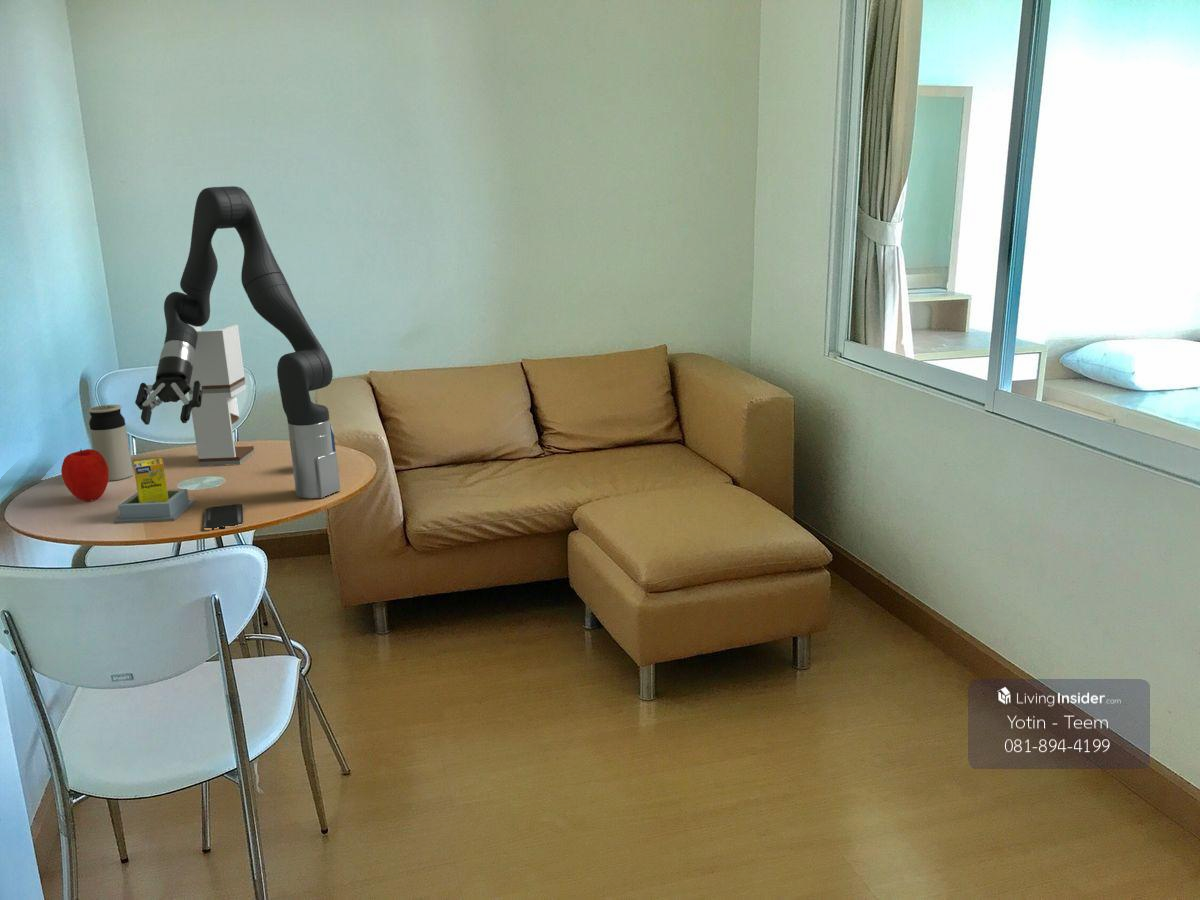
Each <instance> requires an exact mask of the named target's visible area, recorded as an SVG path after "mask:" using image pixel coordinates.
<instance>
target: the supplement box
mask: <svg viewBox="0 0 1200 900" xmlns="http://www.w3.org/2000/svg"><path fill="white" fill-rule="evenodd" d="M164 466H165V465H164V462H163V459H162V457H160V458H152V459H151V458H150V459H145V460H136V461H133V462H132V467H133V473H134V478H135V483H136V490H137V491H136V492H138V498H139V503H155V502H166V501H167V500H168V492H167V490H168V486H167V479H166V473H165V472H166V471H165V467H164Z"/></svg>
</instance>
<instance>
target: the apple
mask: <svg viewBox="0 0 1200 900" xmlns="http://www.w3.org/2000/svg"><path fill="white" fill-rule="evenodd" d="M60 471H61V473H60V474H61V478H62V481H63V483H64V485H65V487H66V488H67V490H68V491H69V493H71V494H72V495H73V496H74V497H75V498H77V499H78V500H81V501H84V502H92V501H91V500H93V501H96V500H98V499H100V498H101V497H102V496H103V495H104V493H105V492H106V489H107V487H108V483H109V481H108V480H109V469H108V465H107V463H106V461H105V459H104V457H103V456H102V455H101V454H100V453H99V452H98V451H95V450H94V449H93V448H92V449H90V448H86V449H83V450H82V448H80V449H79V451H74V452H71V453H69V454H67V455H66V456H65V457H64V458H63V461H62V464H61V470H60Z"/></svg>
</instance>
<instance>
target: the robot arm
mask: <svg viewBox="0 0 1200 900" xmlns="http://www.w3.org/2000/svg"><path fill="white" fill-rule="evenodd" d="M220 229H222V230H223V229H235V230H236V232H237V234H238V235H239V238H240V240H241V242H242V246H243V259H242V266H241V274H240V275H241V276H240V277H241V279H240V280H241V285H242V287H243V289H244V291H245V293H246V295H247V297H248V299H249V301H250V305H252V308H253V309H254V310H255V312H256V313H257V314H259V316H260V317H261V318H262V319H264V320H265V321H266V322H267V323H268V324H270V325H271V326H272V327H274V328H275V329H276V330H278V331H279V332H280V333H281V334H282V335H284V337H285V338H286V339H287V340H288V342H289V343H290V345H291V346H292V348H293V350H294V351H293V352H289V353H285V354H283V355H281V356H280V357H279V360H278V362H277V367H276V369H277V370H276V371H277V372H276V375H277V383H278V387H279V388H278V389H279V393H280V399H281V403H282V409H283V412H284V414H285V416H286V420H287V428H288V429H287V430H288V435H289V437H288V438H289V446H290V452H291V453H290V454H291V463H292V471H293V478H294V487H295V489H294V490H295V495H296V497H298V498H300V499H324V498H326V497H325V496H327V495H329V494H331V493H333V492H336V491H338V490H340V491H341V484H340V475H339V466H338V465H339V463H338V456H337V452H333V448H332V439H331V429H330V424H331V421H330V412H329V408H328V407H327V406H325V405H324V404H323V405H322V404H318V403H314V402H313V401H312V399H311V395H310V392H312V391H316V390H320V389H324V388H326V387H328V386H329V385H330V384H331V383H332V380H333V377H334V375H333V368H332V364H331V361H330V359H329V357H328V355H327V352H326V351H325V350H324V348H323V346H322V345H321V343H320V341H319V339H318V338H317V336H316V335H315V333H314V331H312V329H311V327H310V325H309V324H308V322H307V319H306V318H305V316H304V315H303V312H302V311H301V309H300V307H299V305H298V302H297V300H296V299H295V296H294V294H293V292H292V290H291V287H290V286H289V283H288V282H287V279H286V276H285V275H284V273H283V271H282V269H281V267H280V266H279V264H278V262H277V260H276V258H275V255H274V253H273V252H272V249H271V247H270V244H269V242H268V240H267V238H266V235H265V233H264V229H263V228H262V224H261V222H260V220H259V216H258V214H257V211H256V209H255V206H254V204H253V201H252V199H251V197H250V196H249V194H248V192H246V190H244V188H242V187H240V186H235V185H233V186H232V185H231V186H211V187H206V188H203V189H202V190H201V191H200V192H199V193H198V196H197V197H196V201H195V206H194V213H193V221H192V230H191V239H190V247H189V253H188V257H187V261H186V264H185V266H184V269H183V272H182V274H181V277H180V282H179V286H180V289H181V290H182V292H183V293H182V292H179V291H172V292H170V293H169V294H168V295H167V296H166V298H165V299H164V304H163V312H164V313H163V314H164V318H165V324H166V325H165V326H166V332H165V338H164V343H163V346H162V349H161V352H160V355H159V360H158V364H157V370H156V375H155V382H154V383H153V384H146V383H145V382H142V383H140V384H139V388H138V391H137V395H136V397H135V400H134V401H135V402H134V404H135V406H137V407H138V409H139V410H140V411H141V415H140V419H141V421H142V422H143V424H144V425H146V426H147V425H150V424H151V423H150V422H151V419H152V418H151V417H152V415H153V414H152V413H153V410H154V409H155V408H156V407H159V406H160V405H161V404H162V403H170V402H173V403H178V401H181V402H182V403H183V405H182V406H181V412H180V421H181V423H182V424H186V423H187V422H189V420H190V419H191V415H192V412H191V410H192V409H193V408H194V407H197V408H198V407H200V406H201V401H202V392H203V387H202V385H201V384H200V382H199V381H195V382H194V383H191V384H190V381H191V376H192V370H193V366H194V359H195V348H196V343H197V338H198V334H197V331H196V330H195V329H194V328H193V327H200V326H201V327H203V326H205V325H206V324H208V322H209V320H210V317H211V301H210V298H211V291H212V288H213V284H214V282H215V280H216V277H217V272H218V268H219V266H218V260H217V255H216V253H215V251H214V248H213V244H212V240H213V237H214V235H215V234H216V231H217V230H220ZM190 389H192V391H193V397H192V400H190V399H189V398H187V397H186V394H189V391H190ZM157 397H158V398H157ZM329 496H330V495H329ZM323 497H324V498H323ZM327 497H328V496H327Z"/></svg>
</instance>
